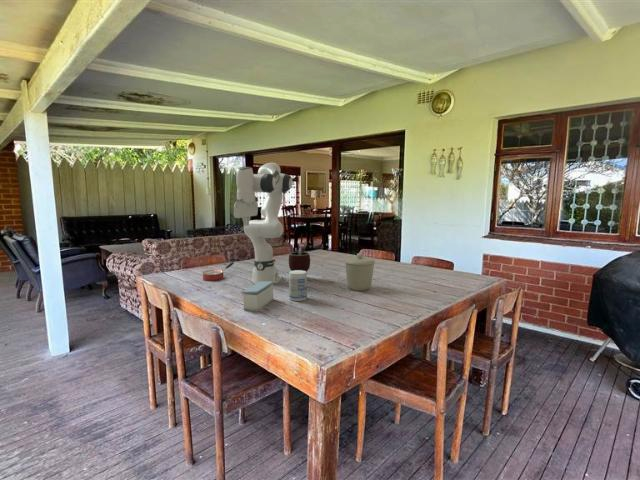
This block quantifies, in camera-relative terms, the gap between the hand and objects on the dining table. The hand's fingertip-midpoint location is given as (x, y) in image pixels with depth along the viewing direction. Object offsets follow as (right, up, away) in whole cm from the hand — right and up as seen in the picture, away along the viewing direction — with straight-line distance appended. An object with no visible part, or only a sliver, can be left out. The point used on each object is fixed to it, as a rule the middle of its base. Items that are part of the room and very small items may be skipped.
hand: (246, 225), depth 187 cm
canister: (+61, -36, +25) cm, 75 cm away
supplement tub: (+27, -39, +4) cm, 48 cm away
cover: (+7, -32, -6) cm, 33 cm away
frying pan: (-30, -32, +57) cm, 72 cm away
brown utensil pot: (+25, -33, +47) cm, 63 cm away
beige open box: (+7, -40, -5) cm, 41 cm away
